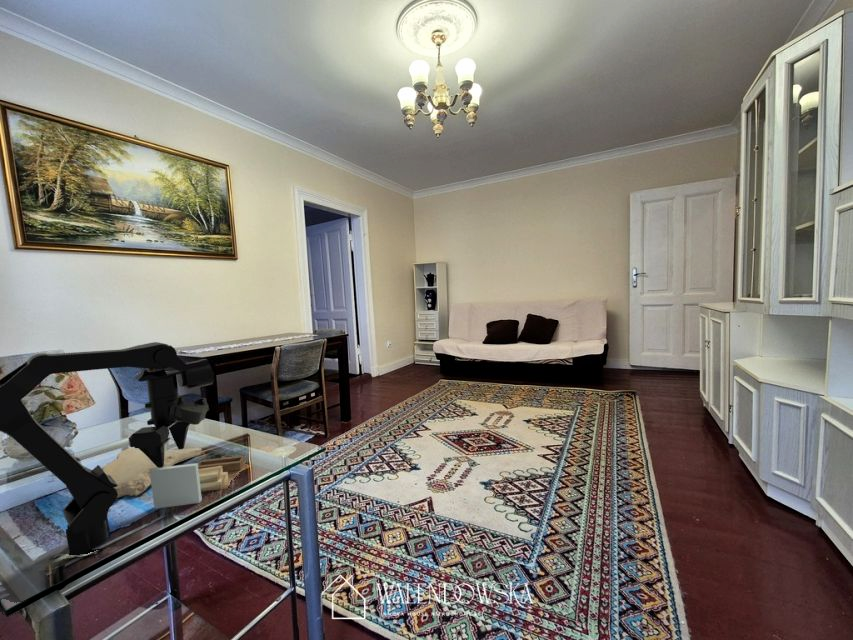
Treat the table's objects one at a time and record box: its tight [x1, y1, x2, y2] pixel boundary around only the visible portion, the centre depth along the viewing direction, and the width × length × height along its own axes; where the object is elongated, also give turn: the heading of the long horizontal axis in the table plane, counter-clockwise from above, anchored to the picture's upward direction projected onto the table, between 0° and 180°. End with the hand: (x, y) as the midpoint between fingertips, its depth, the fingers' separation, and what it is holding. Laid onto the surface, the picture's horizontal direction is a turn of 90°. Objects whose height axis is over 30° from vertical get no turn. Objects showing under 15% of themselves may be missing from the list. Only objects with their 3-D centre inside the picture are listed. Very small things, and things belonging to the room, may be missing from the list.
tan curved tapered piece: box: [101, 447, 202, 499], centre depth 102 cm, size 24×8×20 cm
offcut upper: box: [198, 466, 223, 484], centre depth 94 cm, size 4×7×2 cm, turn 105°
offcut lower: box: [200, 472, 228, 492], centre depth 94 cm, size 5×8×2 cm, turn 100°
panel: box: [150, 462, 203, 510], centre depth 86 cm, size 1×10×10 cm, turn 100°
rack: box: [197, 455, 247, 493], centre depth 98 cm, size 14×12×4 cm
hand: (171, 457), depth 85 cm, fingers open, 9 cm apart
